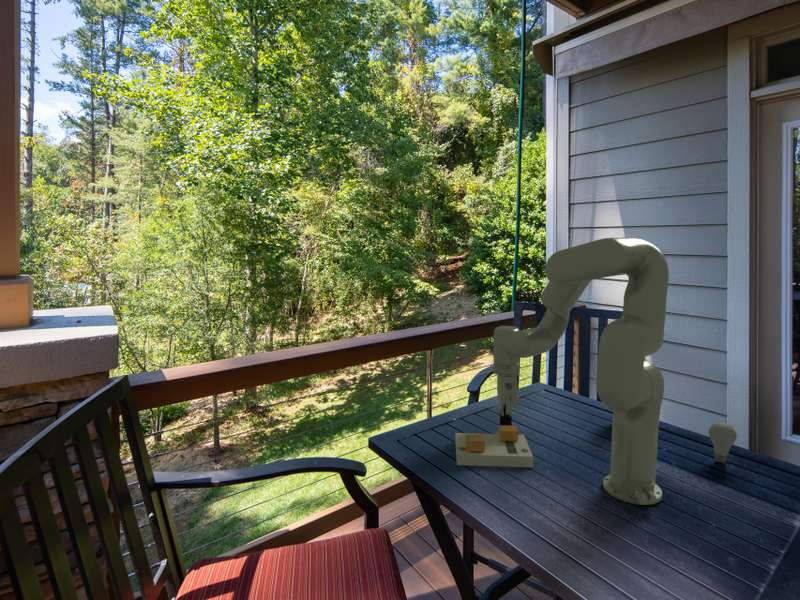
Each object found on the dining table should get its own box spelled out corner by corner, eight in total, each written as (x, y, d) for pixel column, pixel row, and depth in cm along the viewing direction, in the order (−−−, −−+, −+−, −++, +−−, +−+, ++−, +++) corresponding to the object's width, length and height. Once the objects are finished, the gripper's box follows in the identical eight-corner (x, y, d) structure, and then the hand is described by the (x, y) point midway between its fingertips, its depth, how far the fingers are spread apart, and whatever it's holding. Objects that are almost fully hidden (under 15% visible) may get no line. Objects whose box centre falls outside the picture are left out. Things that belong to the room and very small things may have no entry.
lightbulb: (722, 469, 117) (725, 428, 116) (700, 459, 123) (703, 420, 122) (740, 466, 119) (743, 426, 118) (718, 455, 125) (721, 417, 123)
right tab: (518, 441, 128) (518, 431, 128) (500, 441, 128) (500, 430, 128) (515, 435, 132) (516, 425, 132) (498, 435, 132) (498, 425, 132)
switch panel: (533, 467, 120) (533, 456, 119) (456, 465, 122) (456, 454, 121) (523, 444, 134) (523, 434, 133) (455, 442, 135) (455, 432, 135)
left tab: (484, 451, 122) (484, 441, 122) (465, 451, 122) (465, 440, 122) (483, 445, 126) (483, 434, 126) (465, 444, 126) (465, 434, 126)
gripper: (523, 375, 126) (522, 438, 128) (515, 361, 141) (514, 418, 143) (496, 375, 127) (495, 438, 129) (490, 361, 141) (490, 418, 144)
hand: (505, 427), depth 136 cm, fingers closed
